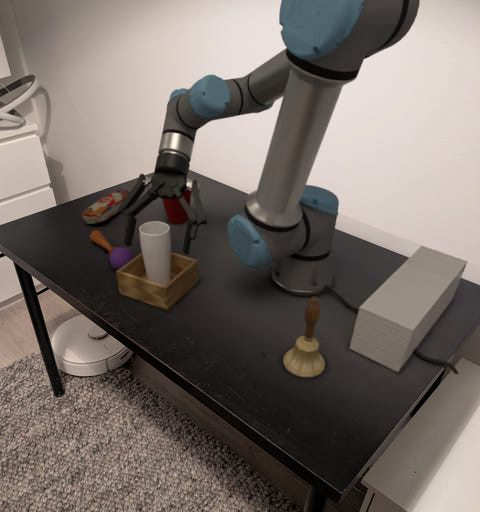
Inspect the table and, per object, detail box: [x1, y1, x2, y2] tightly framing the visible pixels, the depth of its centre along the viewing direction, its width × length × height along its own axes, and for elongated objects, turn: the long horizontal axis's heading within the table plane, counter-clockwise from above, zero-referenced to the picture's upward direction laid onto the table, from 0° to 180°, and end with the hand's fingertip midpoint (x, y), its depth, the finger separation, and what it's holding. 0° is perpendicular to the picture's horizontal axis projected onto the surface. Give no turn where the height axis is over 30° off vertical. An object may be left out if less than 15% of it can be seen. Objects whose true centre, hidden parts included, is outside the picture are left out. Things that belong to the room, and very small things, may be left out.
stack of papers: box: [349, 245, 468, 373], centre depth 98 cm, size 32×11×11 cm, turn 141°
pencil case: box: [80, 188, 131, 225], centre depth 136 cm, size 11×20×5 cm, turn 145°
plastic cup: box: [162, 177, 194, 225], centre depth 133 cm, size 11×11×12 cm
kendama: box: [89, 230, 135, 271], centre depth 117 cm, size 6×6×20 cm
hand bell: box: [282, 296, 326, 379], centre depth 85 cm, size 8×8×16 cm
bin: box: [115, 251, 199, 311], centre depth 106 cm, size 13×13×6 cm
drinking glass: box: [138, 220, 172, 286], centre depth 103 cm, size 7×7×15 cm
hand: (156, 248), depth 101 cm, fingers open, 13 cm apart
